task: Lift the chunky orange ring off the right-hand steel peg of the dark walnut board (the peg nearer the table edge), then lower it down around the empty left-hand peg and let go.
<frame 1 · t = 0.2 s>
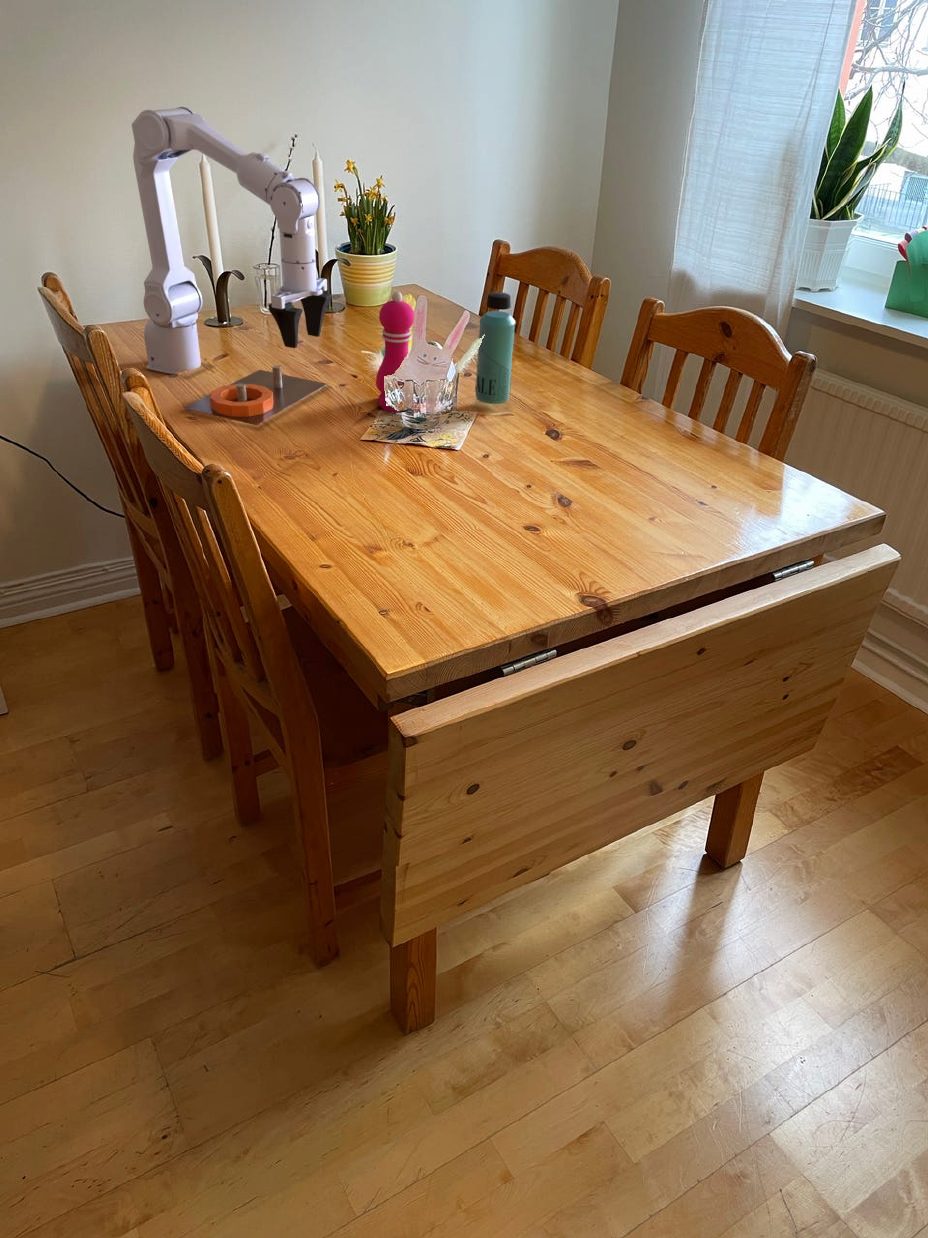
hand: (302, 340, 156), 10 cm above the table, tool pointing down, fingers open, 7 cm apart
pepper mill: (396, 406, 161), on the table
beverage bottle: (491, 406, 163), on the table
peg board: (258, 399, 160), on the table
ring: (242, 405, 155), point 1 cm above the table, touching peg board
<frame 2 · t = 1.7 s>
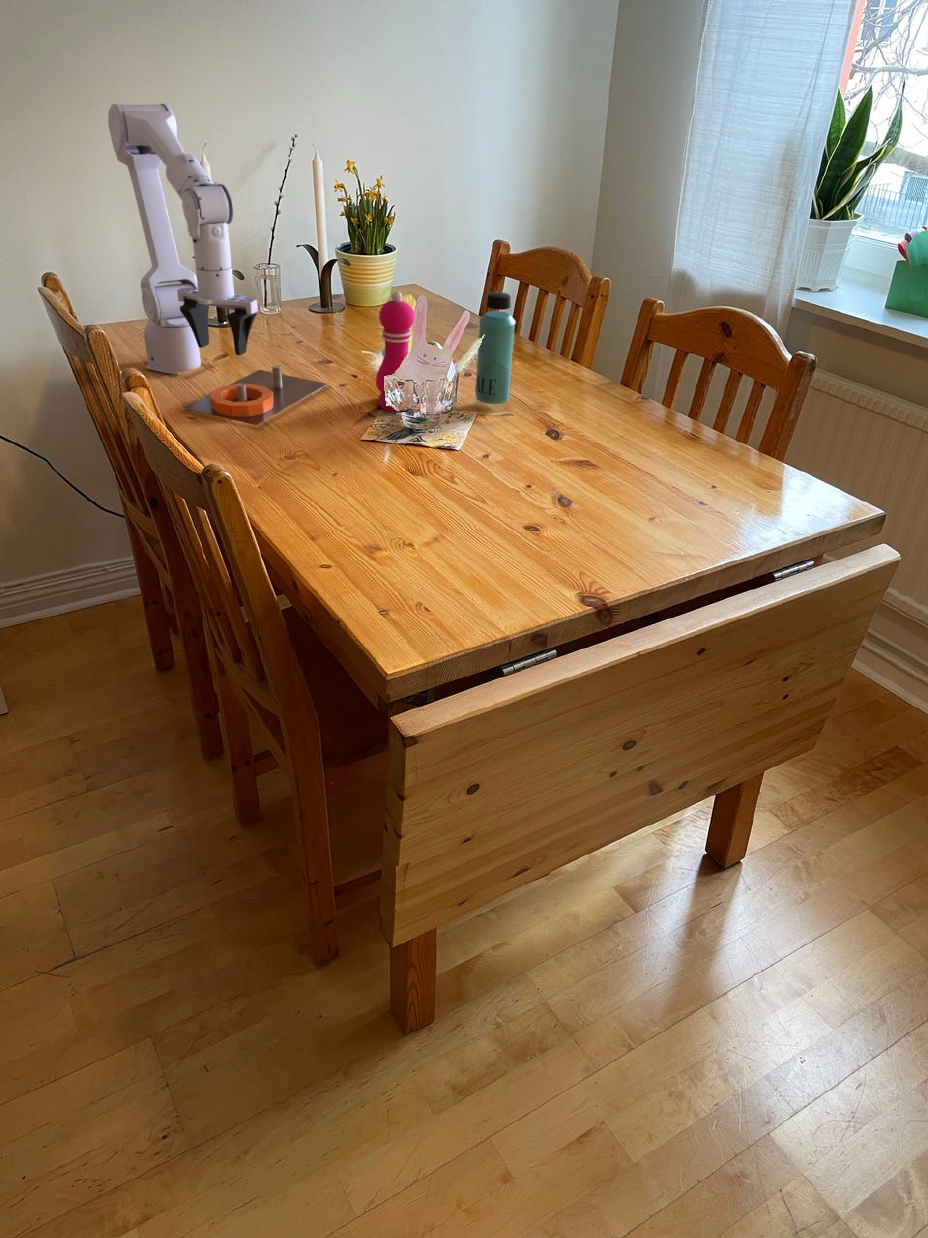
hand: (222, 349, 153), 9 cm above the table, tool pointing down, fingers open, 7 cm apart
nothing on the table moved.
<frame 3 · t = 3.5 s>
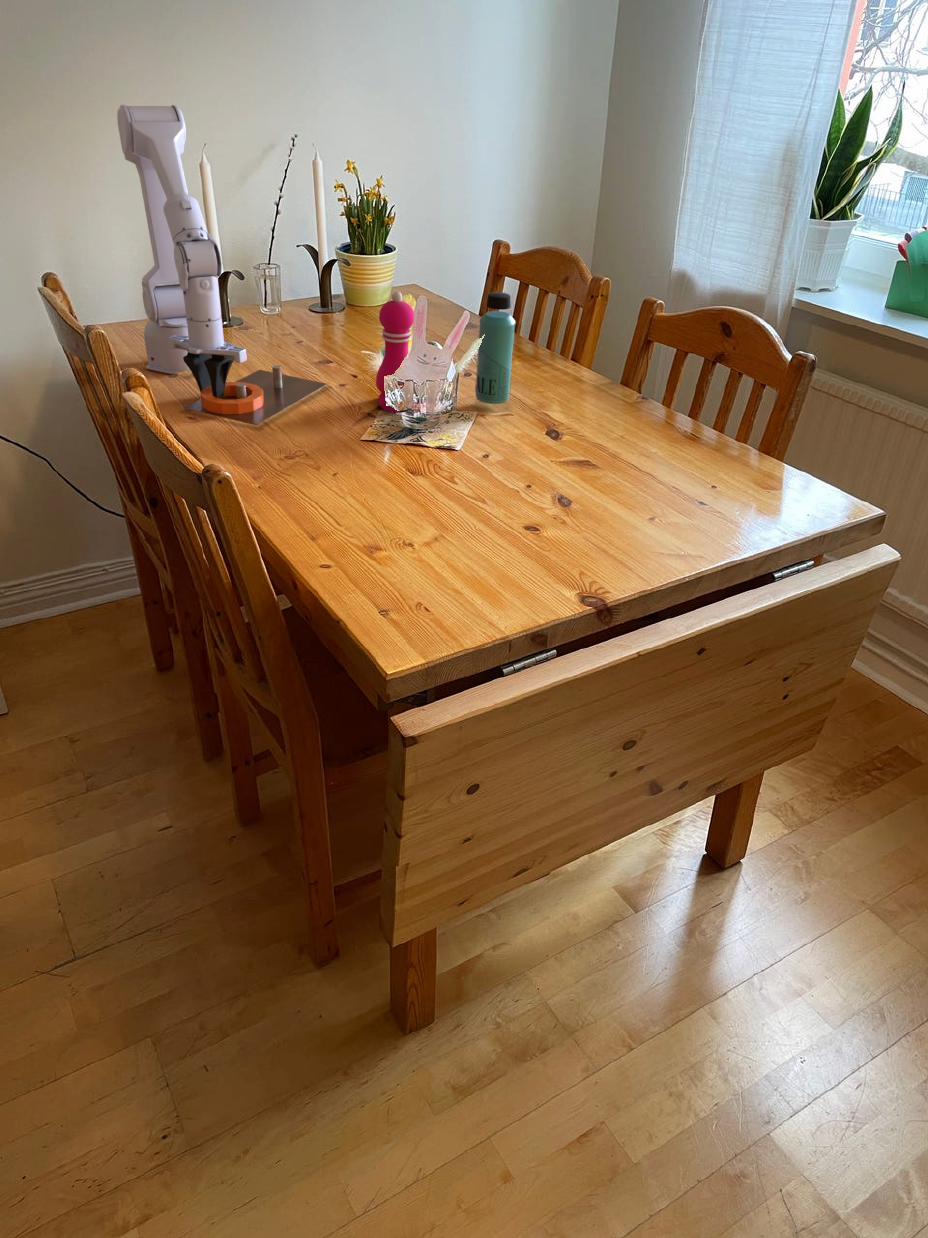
hand: (212, 395, 156), 1 cm above the table, tool pointing down, fingers closed on ring, 2 cm apart
ring: (233, 403, 155), point 1 cm above the table, touching gripper, peg board
everything else where it was.
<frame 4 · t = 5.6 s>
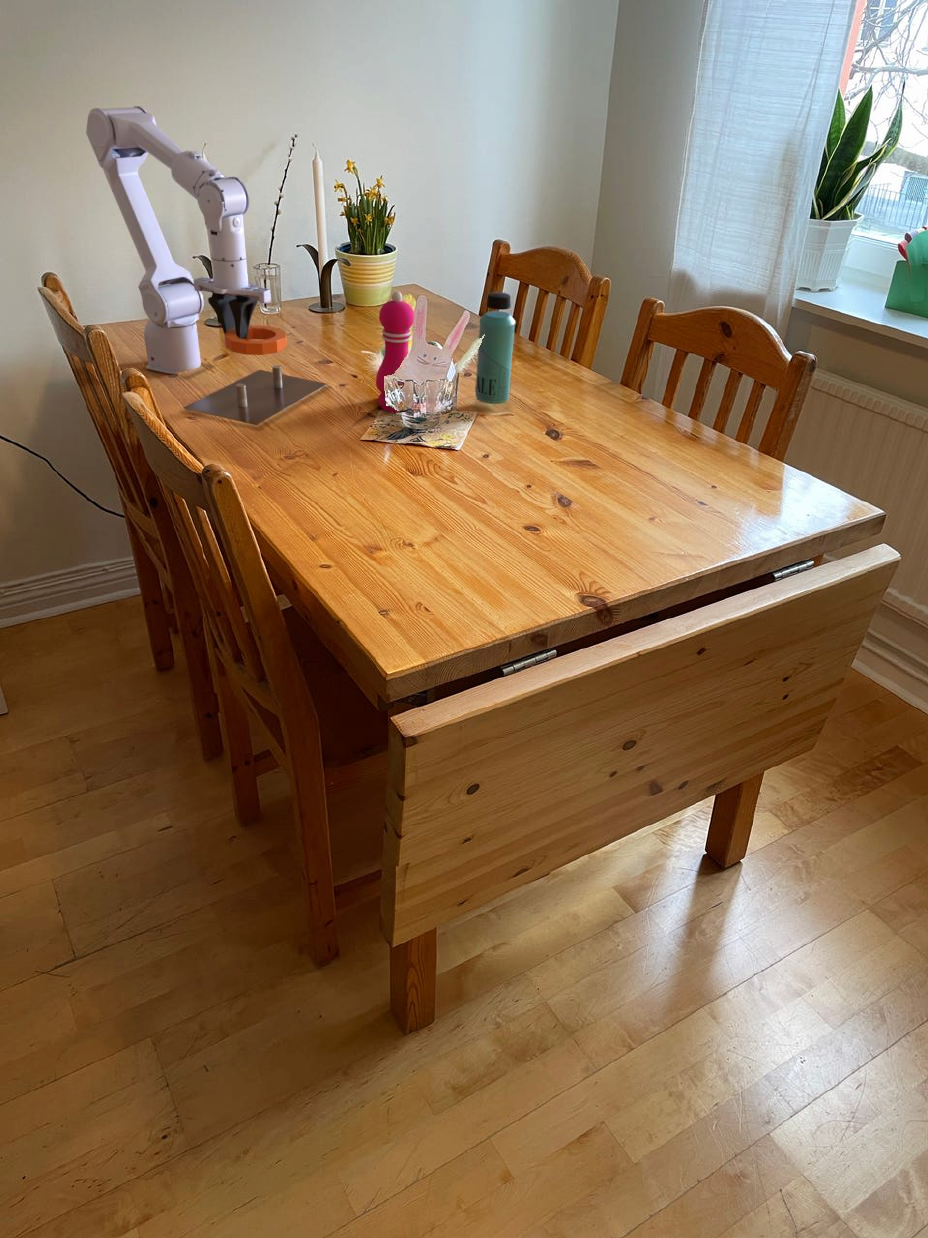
hand: (236, 337, 158), 9 cm above the table, tool pointing down, fingers closed on ring
ring: (256, 345, 157), point 9 cm above the table, touching gripper
everything else where it was.
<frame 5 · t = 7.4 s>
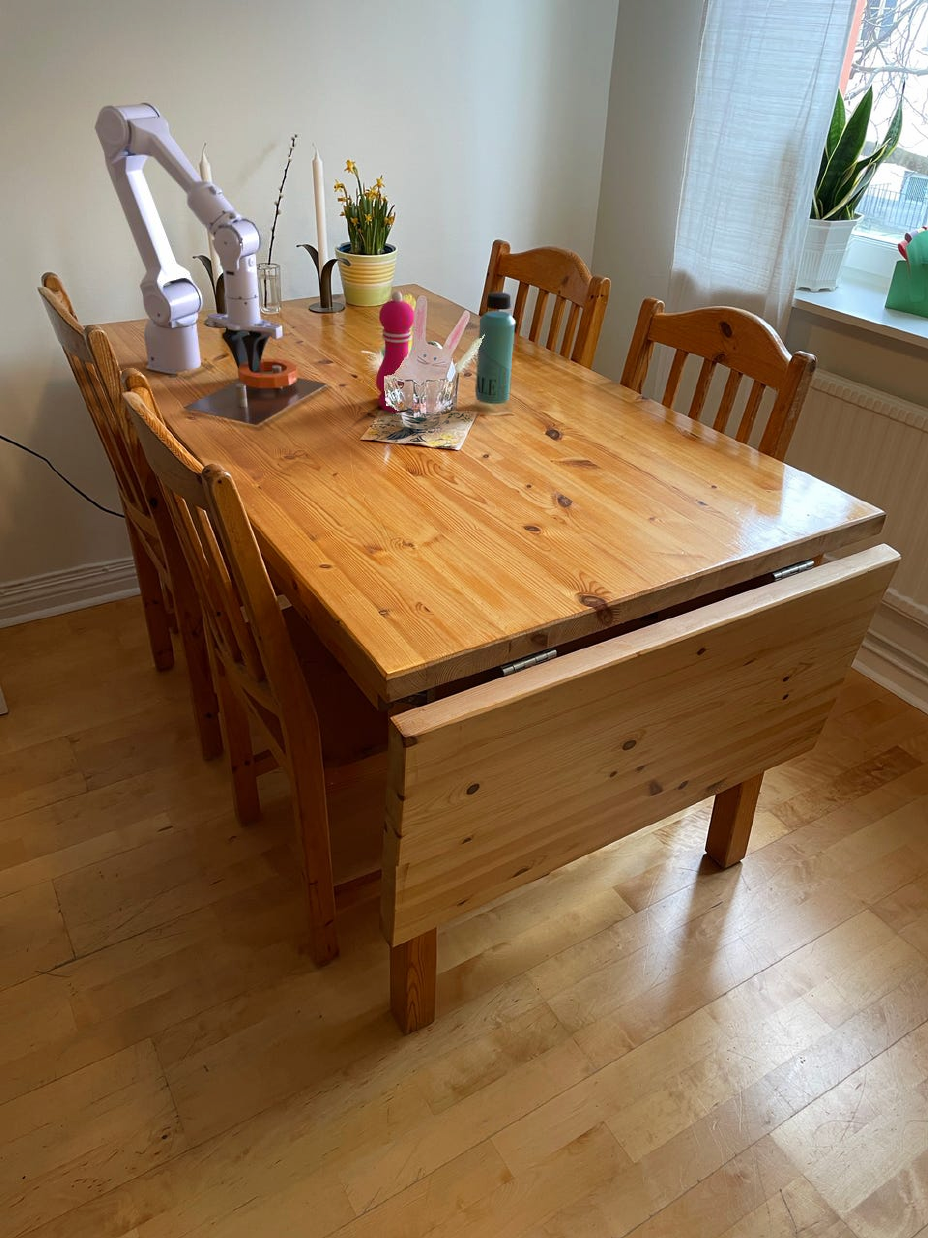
hand: (248, 370, 164), 3 cm above the table, tool pointing down, fingers closed on ring, 2 cm apart
ring: (268, 378, 163), point 2 cm above the table, touching gripper
everything else where it was.
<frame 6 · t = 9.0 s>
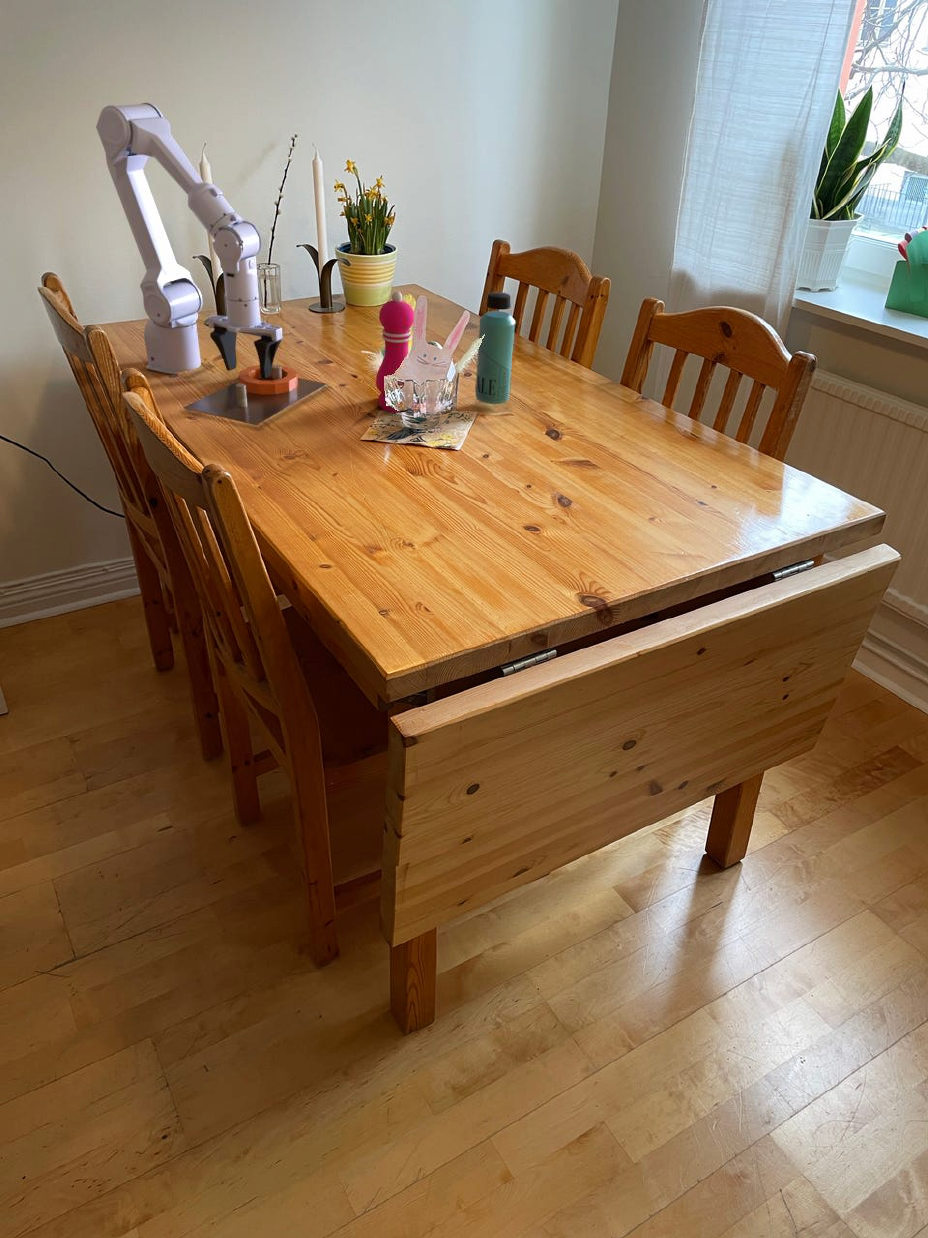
hand: (248, 372, 164), 2 cm above the table, tool pointing down, fingers open, 7 cm apart
ring: (268, 384, 164), point 1 cm above the table, touching peg board
everything else where it was.
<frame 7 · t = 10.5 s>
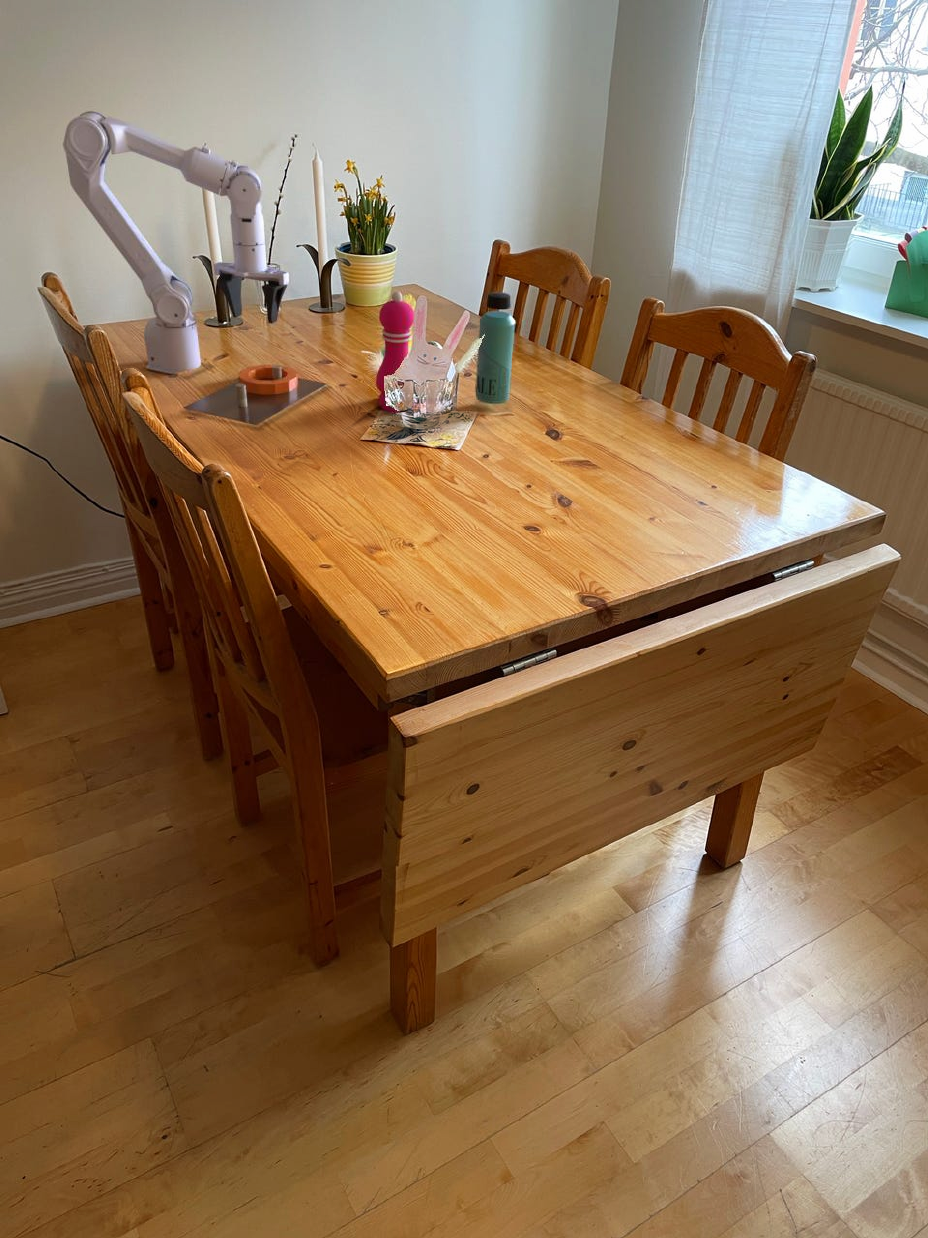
hand: (255, 319, 168), 9 cm above the table, tool pointing down, fingers open, 7 cm apart
nothing on the table moved.
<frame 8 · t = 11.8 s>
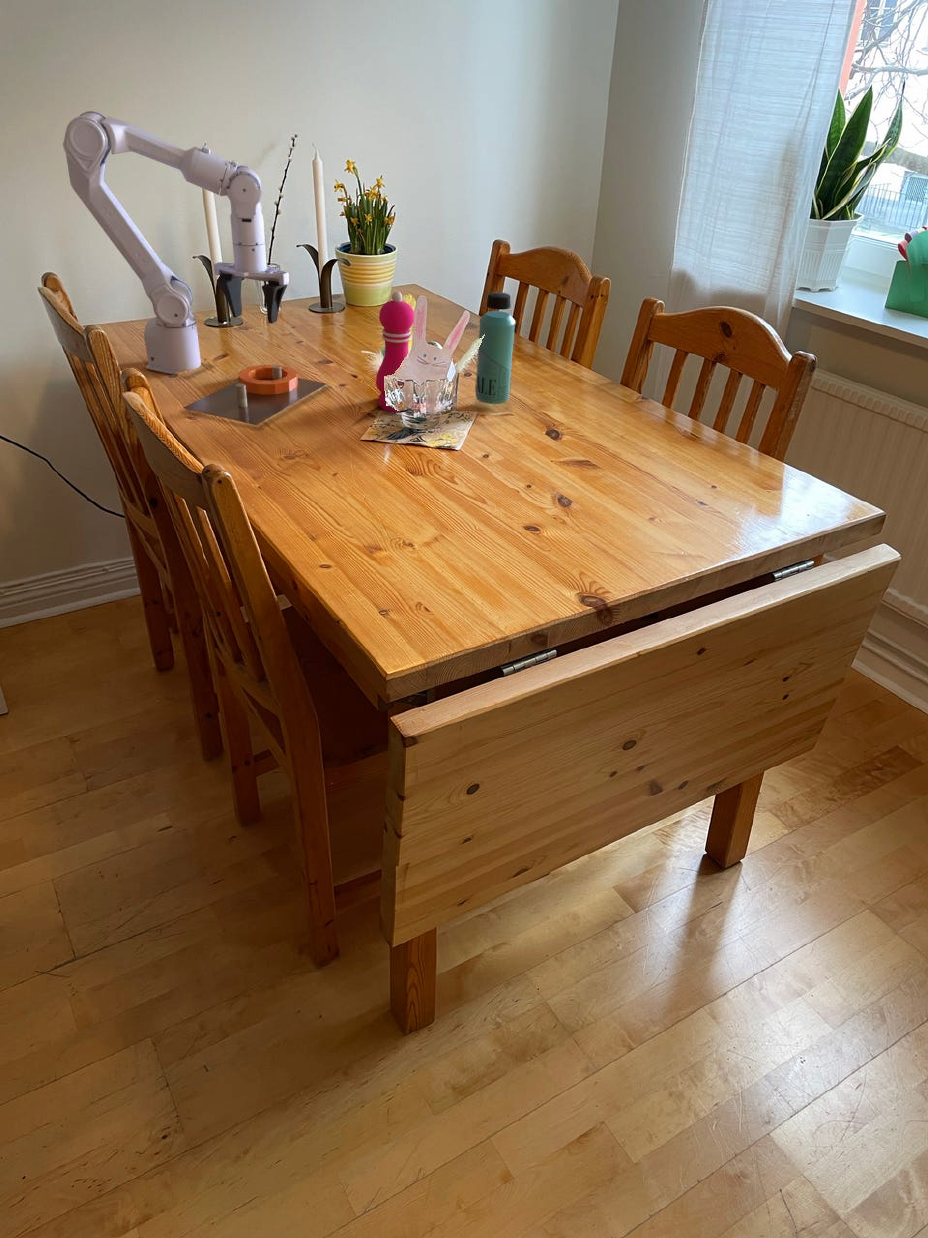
hand: (255, 318, 168), 9 cm above the table, tool pointing down, fingers open, 7 cm apart
nothing on the table moved.
at the end: ring 2.0 cm from the target spot on the peg board, point 0.8 cm above the peg board's base; ring tilted 0°; the gripper is holding nothing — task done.
